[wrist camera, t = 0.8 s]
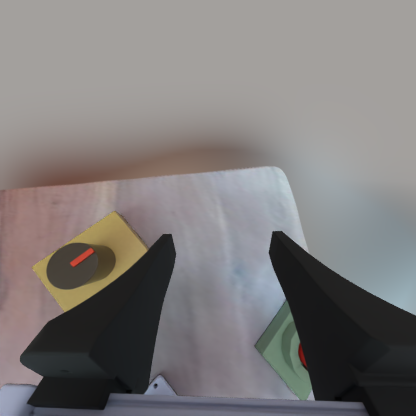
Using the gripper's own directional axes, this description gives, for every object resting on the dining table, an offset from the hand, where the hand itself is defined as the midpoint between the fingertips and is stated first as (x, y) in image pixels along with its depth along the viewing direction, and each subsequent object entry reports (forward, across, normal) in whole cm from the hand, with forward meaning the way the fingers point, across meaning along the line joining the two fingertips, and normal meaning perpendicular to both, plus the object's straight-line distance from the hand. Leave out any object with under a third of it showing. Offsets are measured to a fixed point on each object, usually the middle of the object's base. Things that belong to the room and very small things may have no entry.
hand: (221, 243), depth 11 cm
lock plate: (+7, +17, +10) cm, 20 cm away
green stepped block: (+3, -11, +23) cm, 26 cm away
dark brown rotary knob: (+5, +16, +7) cm, 18 cm away
